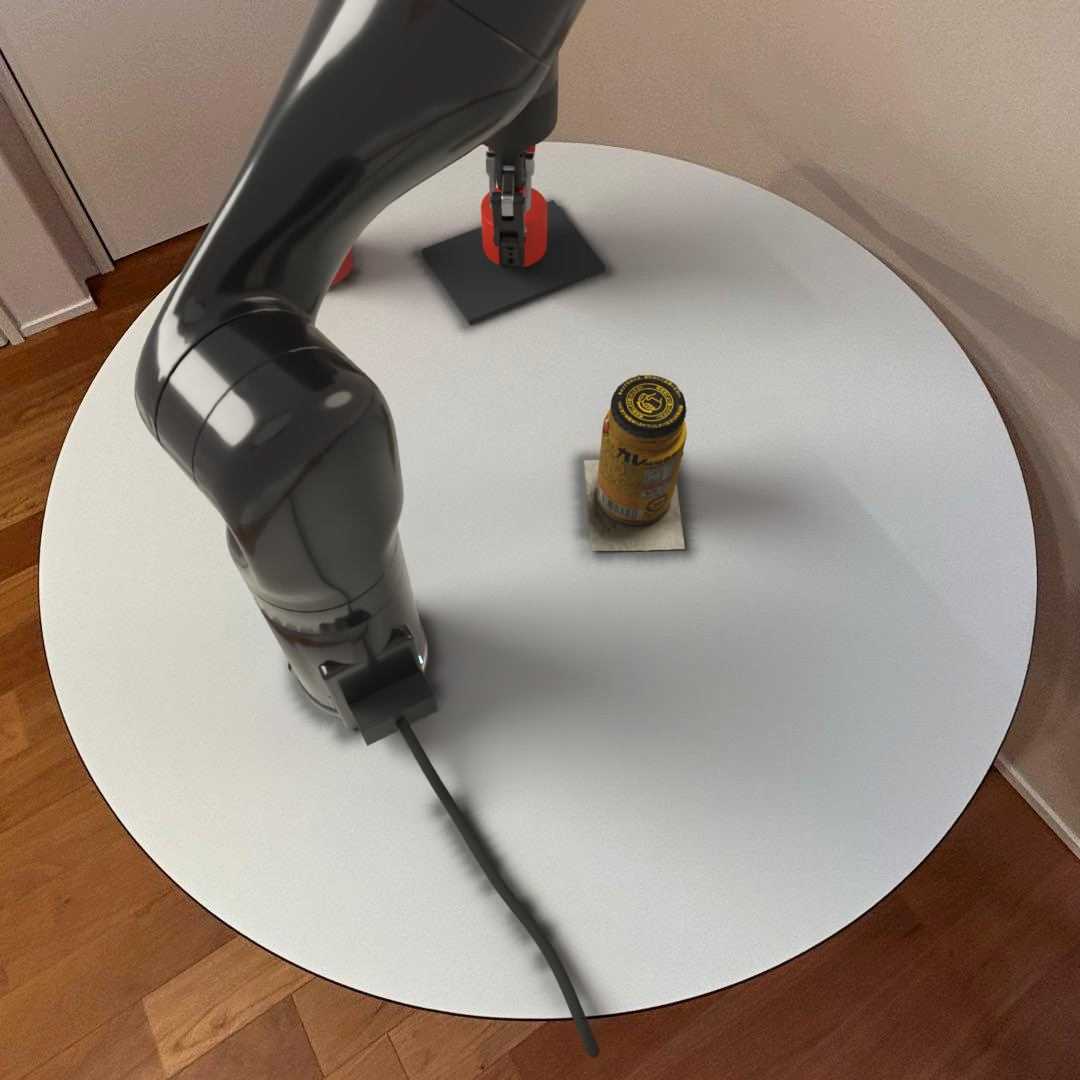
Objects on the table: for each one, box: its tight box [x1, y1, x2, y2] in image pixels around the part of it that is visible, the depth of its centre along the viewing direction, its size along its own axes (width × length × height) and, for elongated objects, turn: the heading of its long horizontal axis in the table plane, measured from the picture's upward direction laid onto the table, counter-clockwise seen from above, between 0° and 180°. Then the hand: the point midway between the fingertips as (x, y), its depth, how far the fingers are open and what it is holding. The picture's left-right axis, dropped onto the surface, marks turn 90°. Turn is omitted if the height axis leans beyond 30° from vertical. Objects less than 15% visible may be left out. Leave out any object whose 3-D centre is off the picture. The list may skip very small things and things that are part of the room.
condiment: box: [583, 374, 688, 552], centre depth 72 cm, size 7×8×12 cm
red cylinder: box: [480, 185, 547, 267], centre depth 87 cm, size 6×6×5 cm
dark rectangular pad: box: [420, 199, 606, 326], centre depth 90 cm, size 10×14×1 cm
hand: (513, 238), depth 88 cm, fingers closed on red cylinder, 6 cm apart
